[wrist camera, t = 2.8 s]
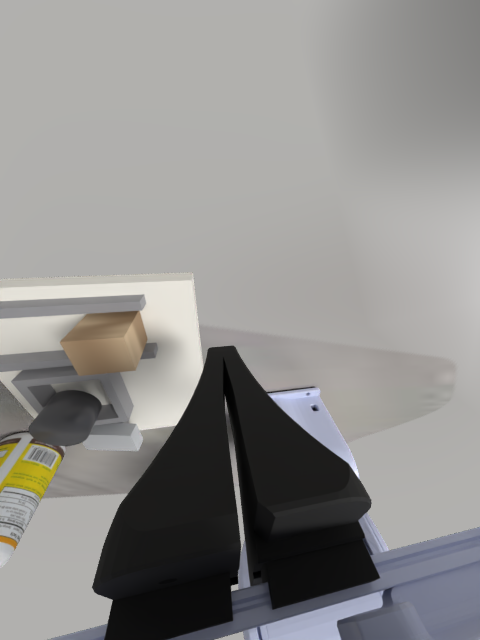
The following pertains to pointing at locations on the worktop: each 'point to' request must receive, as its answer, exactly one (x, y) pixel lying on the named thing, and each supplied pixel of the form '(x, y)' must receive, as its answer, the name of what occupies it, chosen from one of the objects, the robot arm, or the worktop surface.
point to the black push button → (66, 418)
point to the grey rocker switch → (114, 437)
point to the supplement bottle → (22, 484)
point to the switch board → (110, 388)
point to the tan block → (106, 343)
